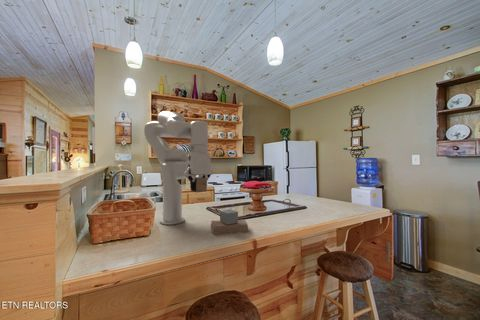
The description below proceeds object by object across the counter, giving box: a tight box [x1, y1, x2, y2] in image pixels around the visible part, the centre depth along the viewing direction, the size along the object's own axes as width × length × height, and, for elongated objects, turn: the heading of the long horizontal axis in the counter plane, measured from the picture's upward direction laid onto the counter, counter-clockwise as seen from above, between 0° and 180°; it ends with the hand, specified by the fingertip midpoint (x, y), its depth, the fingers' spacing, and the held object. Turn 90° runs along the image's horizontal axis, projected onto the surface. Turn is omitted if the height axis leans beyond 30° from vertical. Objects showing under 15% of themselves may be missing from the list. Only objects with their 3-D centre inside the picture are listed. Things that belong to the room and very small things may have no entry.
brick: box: [210, 219, 249, 236], centre depth 105 cm, size 17×8×5 cm, turn 105°
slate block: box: [219, 208, 239, 225], centre depth 105 cm, size 6×6×5 cm
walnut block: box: [190, 176, 208, 193], centre depth 100 cm, size 5×5×6 cm
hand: (198, 189), depth 100 cm, fingers closed on walnut block, 5 cm apart
